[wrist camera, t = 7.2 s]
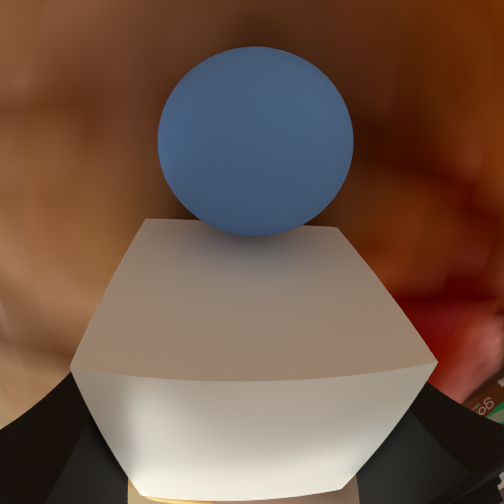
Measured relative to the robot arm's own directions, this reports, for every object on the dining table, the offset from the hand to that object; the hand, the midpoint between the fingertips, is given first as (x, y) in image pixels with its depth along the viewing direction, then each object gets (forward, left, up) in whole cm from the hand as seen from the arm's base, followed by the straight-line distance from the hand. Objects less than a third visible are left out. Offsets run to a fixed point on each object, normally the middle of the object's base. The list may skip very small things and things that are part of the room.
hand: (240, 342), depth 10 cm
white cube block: (0, 0, -2) cm, 2 cm away
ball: (0, +6, -1) cm, 6 cm away
